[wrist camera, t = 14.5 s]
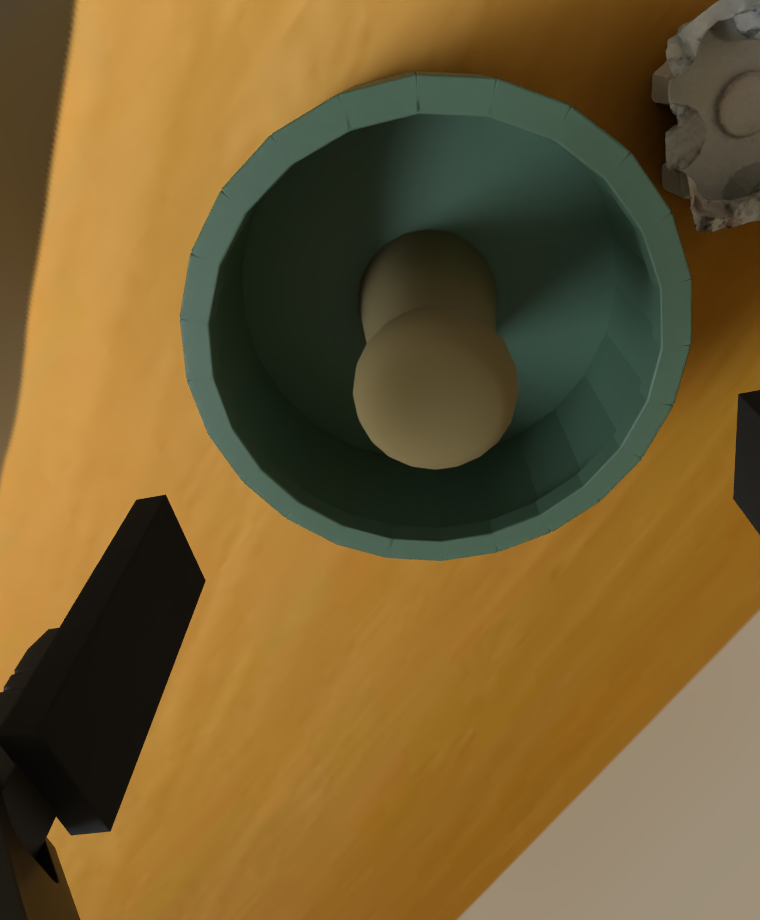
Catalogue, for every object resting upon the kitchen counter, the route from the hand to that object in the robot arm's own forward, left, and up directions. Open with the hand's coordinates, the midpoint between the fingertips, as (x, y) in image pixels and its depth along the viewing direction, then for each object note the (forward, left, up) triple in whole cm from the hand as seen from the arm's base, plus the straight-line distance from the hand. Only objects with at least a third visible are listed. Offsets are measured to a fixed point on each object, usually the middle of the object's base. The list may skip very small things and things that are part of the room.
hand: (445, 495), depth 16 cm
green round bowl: (0, 0, -17) cm, 17 cm away
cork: (0, 0, -16) cm, 16 cm away
